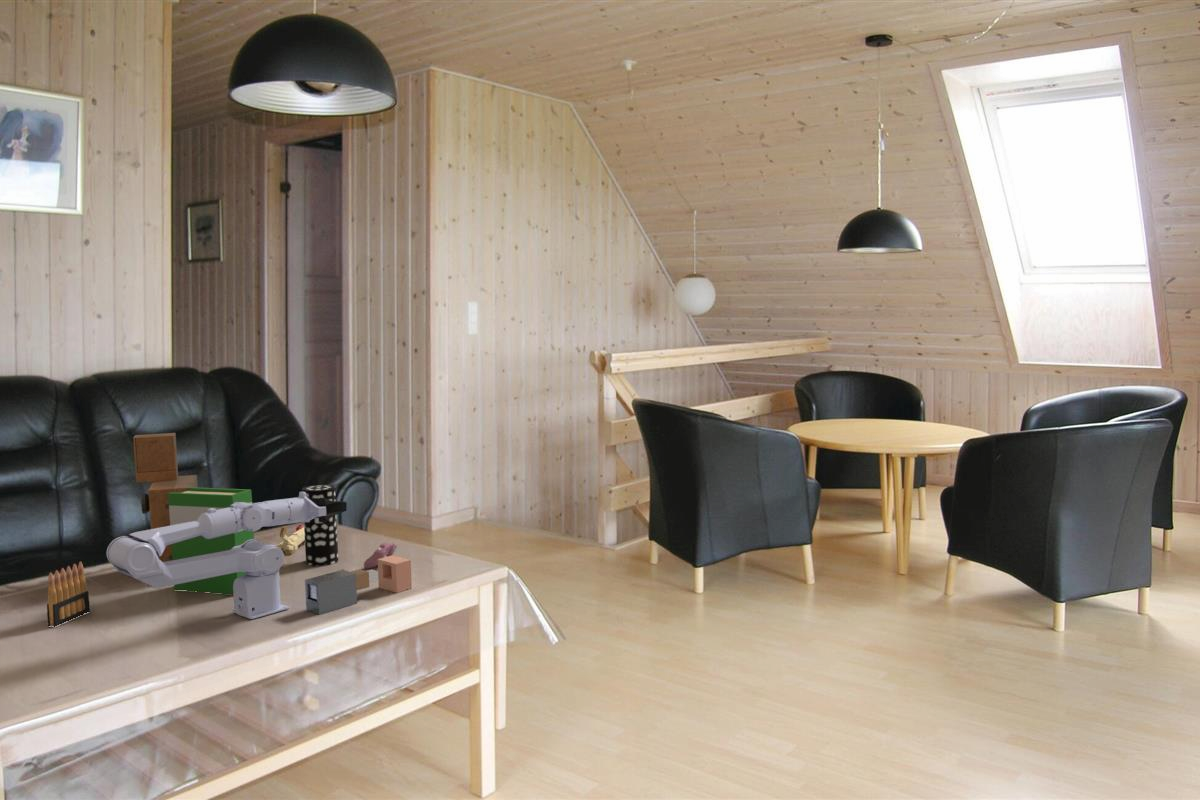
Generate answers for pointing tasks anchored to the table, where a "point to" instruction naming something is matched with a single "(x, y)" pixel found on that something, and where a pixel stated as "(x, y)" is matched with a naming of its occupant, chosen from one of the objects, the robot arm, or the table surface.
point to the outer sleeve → (331, 591)
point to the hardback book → (188, 510)
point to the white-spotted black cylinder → (321, 531)
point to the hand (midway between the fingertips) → (336, 504)
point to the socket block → (394, 573)
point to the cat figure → (291, 539)
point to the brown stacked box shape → (159, 478)
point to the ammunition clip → (67, 595)
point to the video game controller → (380, 554)
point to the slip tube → (361, 580)
